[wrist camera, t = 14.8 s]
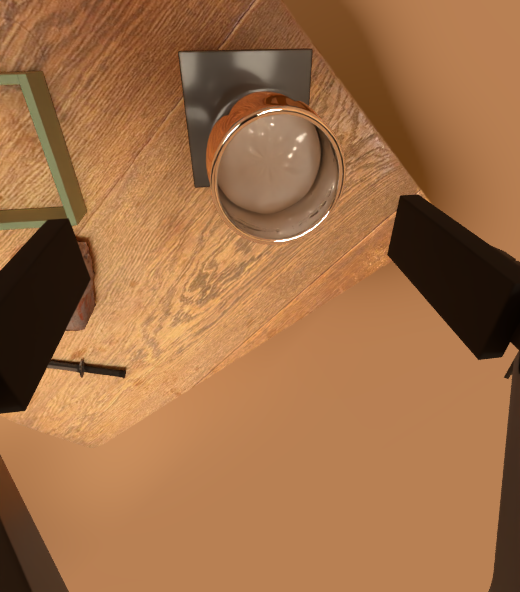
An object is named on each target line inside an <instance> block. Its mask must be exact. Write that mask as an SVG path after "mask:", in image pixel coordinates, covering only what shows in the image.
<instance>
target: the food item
mask: <svg viewBox="0 0 520 592" xmlns="http://www.w3.org/2000/svg"><path fill="white" fill-rule="evenodd" d="M77 242H78V241H77ZM78 245H79V248H80V251H81V253H82V256H83V259H84V262H85V264H86V267H87V270H88V273H89V275H90V278H91V280H90V282H89V284H88V286H87V288H86V290H85V292H84V294H83V296H82V298H81V300H80V302H79V304H78V306H77V308H76V310H75V312H74V314H73V316H72V318H71V320H70V322H69V324H68V326H67V328H66V330H65V331H79V330H83V329H85V327H86V324H87V323H88V321H89V318H90V316H91V314H92V313H93V310H94V307H95V306H96V303H95V299H94V291H93V287H92V286H93V277H94V271H93V268H92V259H91V257H90V254H89V248H88V246H87V243H86V242H78Z"/></svg>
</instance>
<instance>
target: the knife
mask: <svg viewBox="0 0 520 592" xmlns="http://www.w3.org/2000/svg"><path fill="white" fill-rule="evenodd" d="M47 368H53V369H60V370H68V371H76V372H79V373H80V376H81V378H82V377H83V375H84V372H88V373H94V374H102V375H110V376H117V377H123V378H125V374H126V370H124V371H123V370H113V369H106V368H98V367H91V366H85V365H84V360H83V359H82V360H81V362H80V365H79V364H73V363H71V364H69V363H64V362H61V363H60V362H58V361H56V362H55V361H50V362H49V364H48V366H47Z"/></svg>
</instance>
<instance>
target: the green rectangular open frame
mask: <svg viewBox="0 0 520 592" xmlns="http://www.w3.org/2000/svg"><path fill="white" fill-rule="evenodd" d="M0 85H20V86H21V89H22V92H23V95H24V97H25V100H26V103H27V106H28V109H29V112H30V114H31V117H32V120H33V123H34V126H35V128H36V131H37V134H38V137H39V140H40V142H41V145H42V148H43V151H44V154H45V156H46V159H47V162H48V165H49V168H50V170H51V173H52V176H53V179H54V182H55V184H56V187H57V190H58V193H59V196H60V198H61V201H62V204H63V207H51V208H33V209H15V210H0V230H9V229H25V228H40V227H41V226H42V225H43V224H44V223H45V222H46V221H47V220H49V219H64V218H69V220H70V223H71V226H74V225H78V224H79V222H80V221H81V219H82V218H83V217H84V215H85V214H86V213H87V210H86V207H85V204H84V200H83V197H82V194H81V191H80V188H79V185H78V181H77V178H76V175H75V172H74V169H73V166H72V163H71V159H70V156H69V153H68V150H67V147H66V144H65V141H64V137H63V134H62V131H61V128H60V125H59V122H58V119H57V115H56V112H55V109H54V106H53V103H52V100H51V97H50V93H49V90H48V87H47V84H46V81H45V78H44V75H43V72H42V71H27V72H0Z"/></svg>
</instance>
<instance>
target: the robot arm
mask: <svg viewBox="0 0 520 592" xmlns="http://www.w3.org/2000/svg"><path fill="white" fill-rule="evenodd" d="M387 255H388V256H389V257H390V258H391V259H392V261H393V262H394V263H395V264H396V265H397V266H398V267H399V269H400V270H401V271H402V272H403V273H404V274H405V276H406V277H407V278H408V279H409V280H410V281H411V283H412V284H413V285H414V286H415V287H416V288H417V289H418V291H419V292H420V293H421V294H422V295H423V296H424V297H425V299H426V300H427V301H428V302H429V303H430V304H431V306H432V307H433V308H434V309H435V310H436V311H437V313H438V314H439V315H440V316H441V317H442V318H443V319H444V321H445V322H446V323H447V324H448V325H449V326H450V328H451V329H452V330H453V331H454V332H455V333H456V334H457V335H458V336H459V338H460V339H461V340H462V341H463V343H464V344H465V345H466V346H467V347H468V348H469V349H470V350H471V352H472V353H473V354H474V355H475V356H476V358H477V359H478V360H481V359H490V358H499V357H502V356H503V354H504V352H505V350H506V349H507V347H508V345H509V343H510V342H511V343H512V344H513V345H514V346H515V347H516V348H517V349H518V350H519V352H518V353H517V355H516V357H515V359H514V361H513V362H512V364H511V366H510V368H509V369H508V371H507V373H506V375H505V377H504V378H507V379H508V378H509V377H510V375H512V385H511V395H510V406H509V417H508V427H507V438H506V448H505V458H504V469H503V480H502V490H501V500H500V511H499V522H498V532H497V542H496V553H495V563H494V573H493V579H492V583H491V587H490V589H489V592H520V262H519V261H516V259H515V258H513V257H512V256H510V255H509V254H507V253H506V252H504V251H502V250H500V249H497V248H495V247H493V246H491V245H489V244H488V243H486V242H485V241H483V240H482V239H481V238H479V237H478V236H476V235H475V234H473V233H472V232H471V231H469V230H467V229H466V228H465V227H463V226H462V225H461V224H459V223H458V222H456V221H455V220H453V219H452V218H451V217H449V216H448V215H446V214H445V213H443V212H442V211H441V210H439V209H438V208H436V207H435V206H434V205H432V204H431V203H429V202H428V201H426V200H425V199H424V198H422V197H421V196H419V195H404V196H400V199H399V204H398V208H397V213H396V217H395V222H394V227H393V231H392V236H391V241H390V245H389V250H388V254H387ZM90 280H91V278H90V275H89V273H88V270H87V267H86V264H85V262H84V259H83V256H82V253H81V251H80V248H79V245H78V242H77V240H76V237H75V234H74V231H73V229H72V226H71V223H70V220H69V218H64V219H49V220H47V221H46V222H45V223H44V224H43V225H42V226H41V227H40V228H39V229H38V231H37V232H36V233H35V234H34V235H33V236H32V237H31V238H30V239H29V240H28V241H27V243H26V244H25V245H24V246H23V247H22V248H21V249H20V250H19V251H18V252H17V253H16V254H15V256H14V257H13V258H12V259H11V260H10V261H9V262H8V263H7V264H6V265H5V266H4V268H3V269H2V270H1V271H0V414H1V413H10V412H19V411H25V410H26V408H27V406H28V404H29V402H30V400H31V398H32V396H33V394H34V392H35V390H36V388H37V386H38V384H39V382H40V380H41V378H42V376H43V374H44V372H45V370H46V368H47V366H48V364H49V362H50V360H51V358H52V356H53V354H54V352H55V350H56V348H57V346H58V344H59V342H60V340H61V338H62V336H63V334H64V332H65V330H66V328H67V326H68V324H69V322H70V320H71V318H72V316H73V314H74V312H75V310H76V308H77V306H78V304H79V302H80V300H81V298H82V296H83V294H84V292H85V290H86V288H87V286H88V284H89V282H90ZM0 592H69V591H68V589H67V587H66V585H65V583H64V581H63V579H62V577H61V575H60V573H59V572H58V569H57V567H56V566H55V563H54V561H53V559H52V557H51V555H50V553H49V551H48V549H47V547H46V545H45V543H44V541H43V539H42V538H41V535H40V534H39V531H38V529H37V527H36V525H35V523H34V522H33V519H32V517H31V515H30V513H29V511H28V509H27V507H26V505H25V503H24V501H23V499H22V497H21V495H20V493H19V491H18V489H17V487H16V485H15V483H14V481H13V479H12V477H11V475H10V473H9V471H8V469H7V467H6V465H5V463H4V461H3V459H2V457H1V455H0Z"/></svg>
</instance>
